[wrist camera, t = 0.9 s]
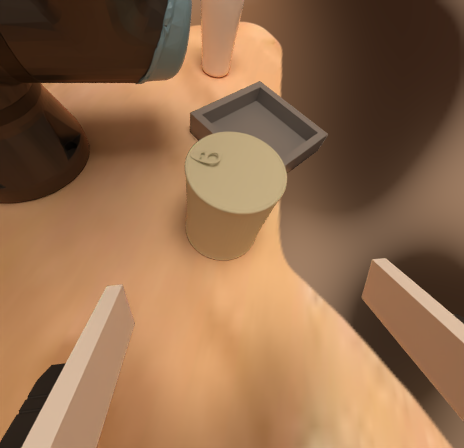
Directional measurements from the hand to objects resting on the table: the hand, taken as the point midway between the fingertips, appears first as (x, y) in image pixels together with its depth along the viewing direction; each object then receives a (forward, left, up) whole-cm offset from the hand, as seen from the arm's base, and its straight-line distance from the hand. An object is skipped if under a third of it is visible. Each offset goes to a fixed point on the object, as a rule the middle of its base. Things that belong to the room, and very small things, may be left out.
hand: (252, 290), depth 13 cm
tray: (-16, +23, -15) cm, 32 cm away
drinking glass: (-34, +30, -15) cm, 48 cm away
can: (-8, +8, -15) cm, 19 cm away
